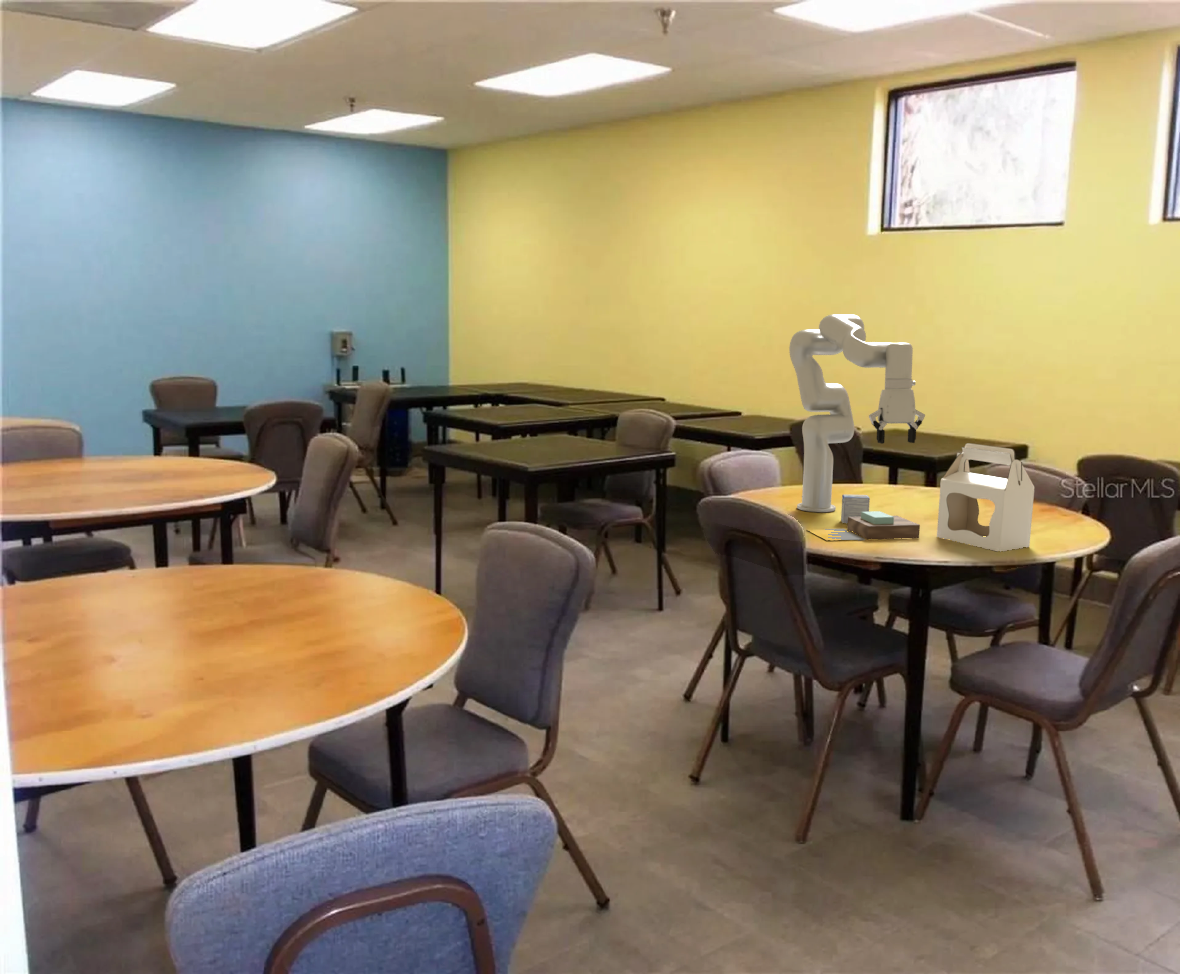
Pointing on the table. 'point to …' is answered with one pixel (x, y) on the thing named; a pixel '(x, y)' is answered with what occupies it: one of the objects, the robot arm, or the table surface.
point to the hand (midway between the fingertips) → (896, 442)
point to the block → (877, 517)
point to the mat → (845, 535)
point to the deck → (884, 528)
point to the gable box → (1007, 495)
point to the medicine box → (854, 506)
